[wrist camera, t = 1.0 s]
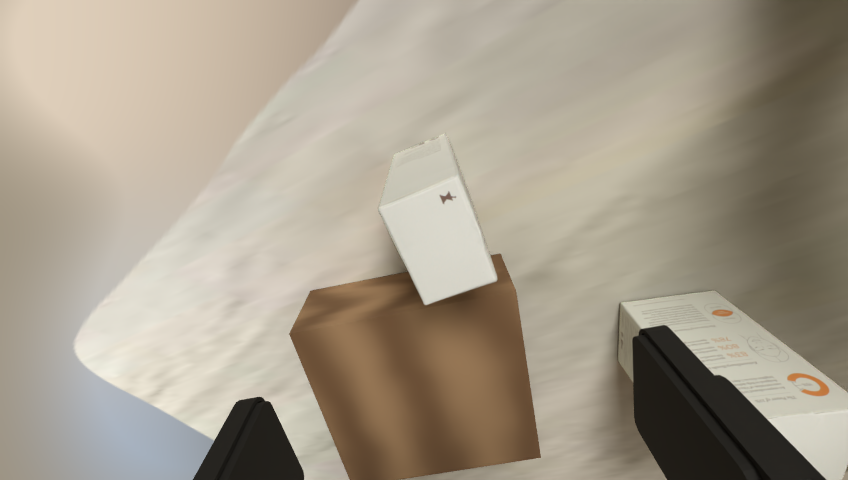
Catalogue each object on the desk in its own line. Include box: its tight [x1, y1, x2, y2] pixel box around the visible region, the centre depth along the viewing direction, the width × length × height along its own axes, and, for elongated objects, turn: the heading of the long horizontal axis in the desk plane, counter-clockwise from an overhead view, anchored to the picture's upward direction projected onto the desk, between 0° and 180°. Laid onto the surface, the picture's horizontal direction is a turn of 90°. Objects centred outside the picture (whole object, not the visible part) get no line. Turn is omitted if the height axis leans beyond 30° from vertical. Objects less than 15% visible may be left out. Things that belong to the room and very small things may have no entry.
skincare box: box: [378, 133, 497, 305], centre depth 25 cm, size 6×4×12 cm
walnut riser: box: [289, 254, 541, 480], centre depth 34 cm, size 16×16×6 cm
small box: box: [618, 290, 848, 480], centre depth 30 cm, size 8×6×13 cm
